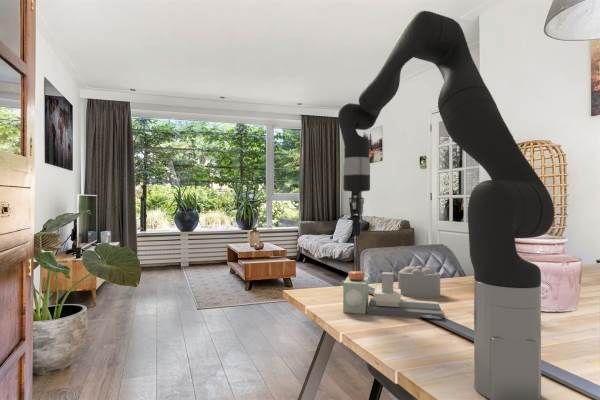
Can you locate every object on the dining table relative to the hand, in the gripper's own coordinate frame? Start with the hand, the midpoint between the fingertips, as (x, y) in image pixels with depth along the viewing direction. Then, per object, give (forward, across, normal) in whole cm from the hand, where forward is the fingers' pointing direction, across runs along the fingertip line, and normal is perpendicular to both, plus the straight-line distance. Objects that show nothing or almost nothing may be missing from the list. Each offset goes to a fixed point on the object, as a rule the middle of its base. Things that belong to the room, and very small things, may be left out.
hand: (356, 235), depth 107 cm
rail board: (+21, 0, -13) cm, 24 cm away
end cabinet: (+21, 0, 0) cm, 21 cm away
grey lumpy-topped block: (+21, +24, -18) cm, 36 cm away
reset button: (+17, 0, 0) cm, 17 cm away
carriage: (+19, 0, -9) cm, 21 cm away
